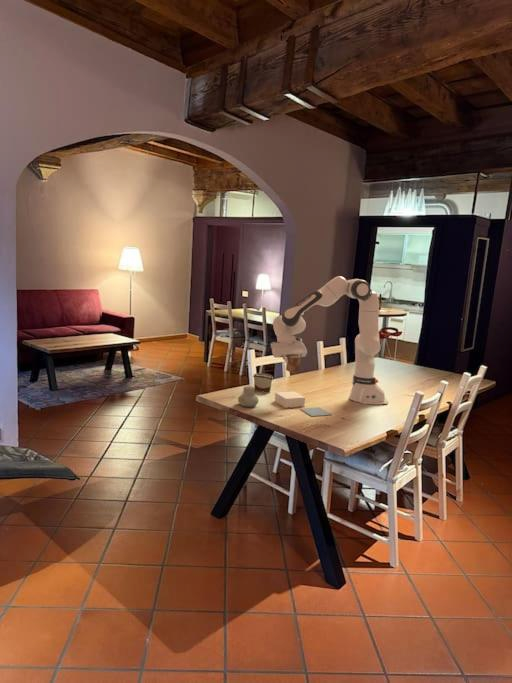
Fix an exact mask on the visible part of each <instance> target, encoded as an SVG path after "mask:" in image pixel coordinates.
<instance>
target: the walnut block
mask: <svg viewBox="0 0 512 683" xmlns="http://www.w3.org/2000/svg"><path fill="white" fill-rule="evenodd" d="M286 358H287V359H289V360H290V363H289V364H286V363H285V364H286V367H285V371H287V372H288V373H299V372H300V370H299V369H300V363H299V360H300V361H301V357H297V356H287V357H286Z"/></svg>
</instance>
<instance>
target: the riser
mask: <svg viewBox="0 0 512 683" xmlns="http://www.w3.org/2000/svg"><path fill="white" fill-rule="evenodd" d="M274 402H275V403H277V404H279V405H280V406H281V405H282V406H281V407H283V408H287V409H289V408H300V407H299V406H302V407H305V404H306V403H305V402H306V397H305V396H304V395H301V394H300V393H298V392H296V391H281V392H279V391H278V392H275V395H274ZM288 407H289V408H288Z"/></svg>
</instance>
